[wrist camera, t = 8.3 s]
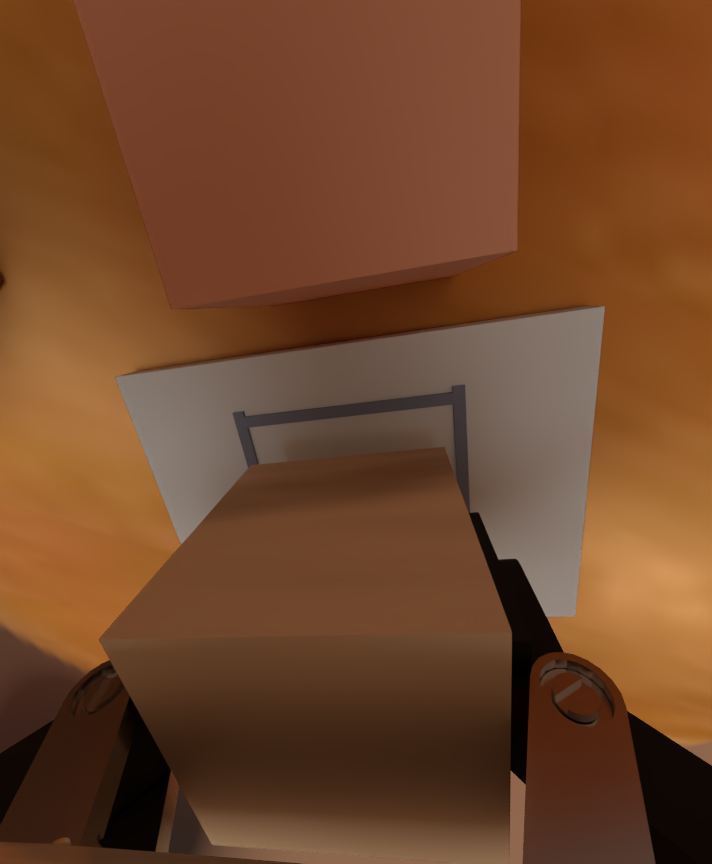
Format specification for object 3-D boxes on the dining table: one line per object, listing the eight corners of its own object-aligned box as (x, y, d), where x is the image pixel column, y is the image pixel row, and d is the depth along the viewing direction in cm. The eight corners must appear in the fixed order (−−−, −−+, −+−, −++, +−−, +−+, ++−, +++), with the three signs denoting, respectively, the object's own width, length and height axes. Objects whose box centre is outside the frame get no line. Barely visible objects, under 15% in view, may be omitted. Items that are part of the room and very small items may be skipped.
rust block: (228, 84, 10) (7, -208, 4) (441, 26, 9) (526, -438, 3) (276, 305, 12) (171, 309, 6) (453, 276, 11) (517, 249, 5)
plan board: (134, 371, 13) (112, 377, 12) (586, 305, 11) (607, 306, 10) (222, 607, 17) (212, 626, 16) (563, 596, 15) (576, 618, 14)
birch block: (250, 465, 11) (98, 639, 5) (444, 446, 10) (511, 631, 4) (290, 608, 13) (212, 844, 7) (454, 603, 12) (509, 867, 6)
